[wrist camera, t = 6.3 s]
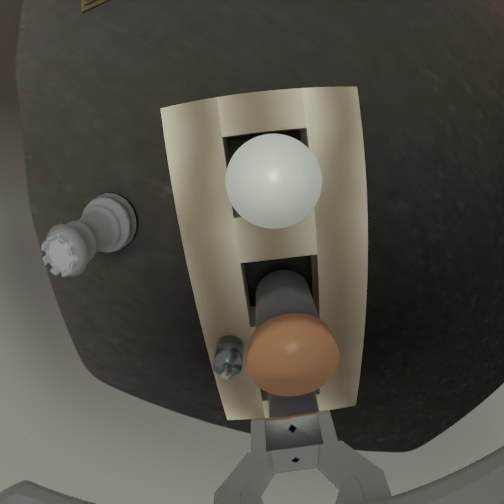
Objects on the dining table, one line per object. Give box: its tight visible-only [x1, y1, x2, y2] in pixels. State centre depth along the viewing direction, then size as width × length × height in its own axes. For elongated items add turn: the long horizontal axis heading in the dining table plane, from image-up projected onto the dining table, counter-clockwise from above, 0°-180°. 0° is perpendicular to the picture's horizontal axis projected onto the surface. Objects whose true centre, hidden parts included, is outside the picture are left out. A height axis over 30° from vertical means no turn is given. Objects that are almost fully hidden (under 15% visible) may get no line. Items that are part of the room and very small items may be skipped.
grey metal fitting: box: [213, 335, 244, 382], centre depth 20 cm, size 2×2×4 cm
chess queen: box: [41, 193, 136, 277], centre depth 18 cm, size 4×4×8 cm
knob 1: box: [225, 134, 322, 229], centre depth 17 cm, size 4×4×7 cm
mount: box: [160, 87, 368, 420], centre depth 22 cm, size 12×26×3 cm, turn 7°
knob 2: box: [247, 270, 340, 396], centre depth 17 cm, size 4×4×7 cm
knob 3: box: [268, 391, 319, 418], centre depth 20 cm, size 4×4×7 cm
